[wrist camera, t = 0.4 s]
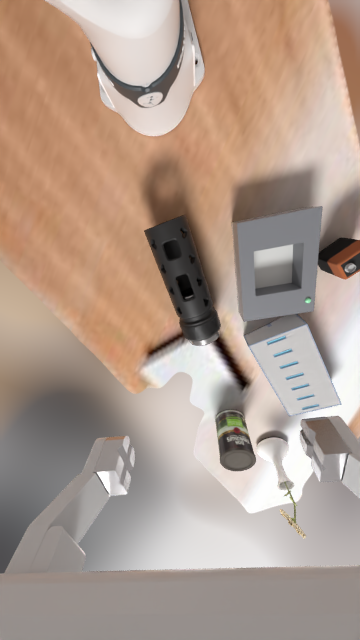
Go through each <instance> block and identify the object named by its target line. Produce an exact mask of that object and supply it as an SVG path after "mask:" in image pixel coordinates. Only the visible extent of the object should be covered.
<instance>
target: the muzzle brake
mask: <svg viewBox="0 0 360 640" xmlns="http://www.w3.org/2000/svg"><path fill="white" fill-rule="evenodd" d="M181 231H182V232H183V234H182V233H181ZM144 232H145V235H146V237H147V240H148V242H149V245H150V247H151V250H152V252H153V255H154V258H155V260H156V263H157V265H158V268H159V270H160V273H161V275H162V278H163V280H164V283H165V285H166V288H167V290H168V293H169V296H170V298H171V301H172V303H173V306H174V308H175V311H176V313H177V315H178V317H180V322H179V323H180V327H181V329H182V332H183V334H184V336H185V338H186V339H188V340H189V341H190V343H191V344H192V345H195V346H203V345H207V344H210V343H212V342H213V341H215V340H216V339H217V338H218V337H219V334H220V331H219V329H220V326H221V324H220V320H219V317H218V314H217V311H216V310H215V309H214V308H213V307H212V305H213V302H212V299H211V296H210V292H209V289H208V285H207V282H206V279H205V277H204V273H203V269H202V266H201V263H200V259H199V257H198V254H197V250H196V246H195V243H194V240H193V237H192V234H191V231H190V228H189V224H188V221H187V217H186V215H182V216H180V217H177V218H175V219H172V220H170V221H167V222H165V223H162V224H159V225H157V226H154V227H152V228H149V229H147V230H145V231H144Z"/></svg>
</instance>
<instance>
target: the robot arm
mask: <svg viewBox="0 0 360 640" xmlns="http://www.w3.org/2000/svg"><path fill="white" fill-rule="evenodd" d="M45 1H46V2H48V3H49V4H51V5H53V6H54V7H56V8H57V9H59V10H60V11H62V12H63V13H64V14H66V15H67V16H69V17H70V18H71V19H73V20H74V21H75V22H76V23H77V24H78V25H79V26H80V28H81V29H82V30H83V32H84V33H85V35H86V36H87V38H88V39H89V41H90V43H91V46H92V48H91V51H92V56H93V59H94V61H97V70H98V72H97V76H98V79H99V87H100V96H101V99H102V101H103V103H104V104H105V106H107V107H108V108H110V109H111V110H113V111H115V112H117V113H119V114H120V115H121V116H122V118H123V119H124V120H125V121H126V122H127V123H128V125H129V126H131V127H132V128H133V129H134V130H136V131H137V132H139V133H141V134H144V135H147V136H160V135H163V134H166V133H168V132H170V131H171V130H172V129H174V128H175V127H176V126H177V125H178V124H179V123H180V121H181V120H182V119H183V117H184V115H185V113H186V111H187V109H188V106H189V103H190V100H191V97H192V94H193V92H194V91H195V90H196V88H197V87H198V86H199V84H200V83H201V81H202V80H203V78H204V74H205V69H204V63H203V59H202V55H201V51H200V47H199V43H198V39H197V35H196V31H195V28H194V24H193V20H192V16H191V12H190V8H189V4H188V0H45ZM195 60H196V61H197V62H198V63H197V64H196V65H195ZM301 427H302V428H303V429H302V430H301V431H300V440H301V444H302V447H303V449H304V451H305V453H306V455H307V456H309V457H310V458H311V459H312V463H311V466H312V468H313V470H314V472H315V473H316V476H317V478H318V480H319V482H333V481H342V483H343V484H344V485H345V486H346V487H347V488H349V489H350V490H351V491H352V492H353V493H354V494H355V495H356V496H357V497H358V498H360V442H359V441H358V439H357V438H356V437H355V435H354V434H353V433H352V431H351V430H350V429H349V427H348V426H347V425H346V423H345V422H344V421H343V420H342V418H341V417H339V416H331V417H318V418H309V419H302V420H301ZM129 443H130V439H129V438H128V436H123V437H109V438H98V439H97V440H96V441H95V443H94V445H93V448H92V450H91V452H90V455H89V457H88V460H87V462H86V464H85V467H84V469H83V471H82V474H78V475H77V477H75V479H73V480H72V482H71V483H70V484H69V485H68V486H67V487H66V488H65V489H64V490H63V491H62V492H61V493H60V494H59V495H58V496H57V497H56V498H55V499H54V500H53V502H51V503H50V504H49V505H48V507H47V508H46V509H45V510H44V511H43V512H42V513H41V514H40V515H39V516H38V517H37V518H36V519H35V520H34V521H33V522H32V523H31V524H30V525H29V526H28V528H27V530H26V532H25V534H24V536H23V538H22V540H21V542H20V544H19V546H18V548H17V549H16V551H15V553H14V555H13V557H12V559H11V561H10V563H9V565H8V567H7V569H6V571H5V573H3V574H0V640H360V565H349V566H305V567H261V568H218V569H175V570H131V571H89V572H82V569H83V566H84V562H85V559H86V555H85V552H84V551H83V550H82V549H81V548H80V547H79V546H78V543H79V542H80V541H81V539H82V537H83V536H84V534H85V533H86V532H87V530H88V529H89V527H90V526H91V524H92V523H93V521H94V520H95V518H96V517H97V515H98V514H99V512H100V511H101V509H102V508H103V507H104V505H105V504H106V502H107V501H108V499H109V498H110V496H114V495H124V494H127V493H128V489H129V485H130V480H131V477H130V475H129V472H130V471H131V470H132V468H133V466H134V461H135V460H134V459H135V453H134V449H133V447H132V446H131V445H130V444H129Z"/></svg>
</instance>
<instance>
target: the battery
mask: <svg viewBox="0 0 360 640" xmlns="http://www.w3.org/2000/svg"><path fill="white" fill-rule="evenodd" d="M318 265H319V267H320V269H321V270H323V271H325V272H328V273H330V274H333V275H335V276H337V277H340V278H342V279H348V278H349V277H351V276H353V275H354V274H356V273H357V272H359V271H360V240H355V239H348V238H340V239H338V240H337V241H335V242H334V243H332V244H331V245H330V246H328V247H327V248H325V249H324V250H322V251H321V252H320V253H318Z"/></svg>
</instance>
